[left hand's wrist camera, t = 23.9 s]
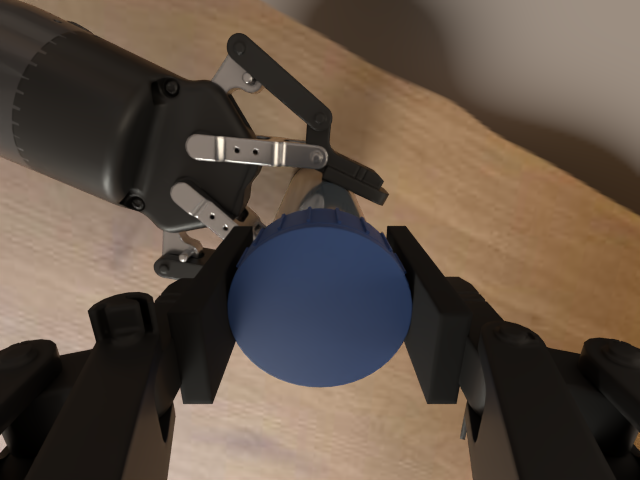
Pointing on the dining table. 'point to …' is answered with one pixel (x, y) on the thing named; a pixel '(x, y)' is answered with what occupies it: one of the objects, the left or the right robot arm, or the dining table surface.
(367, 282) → the lid
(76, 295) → the dining table surface
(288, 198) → the jar
